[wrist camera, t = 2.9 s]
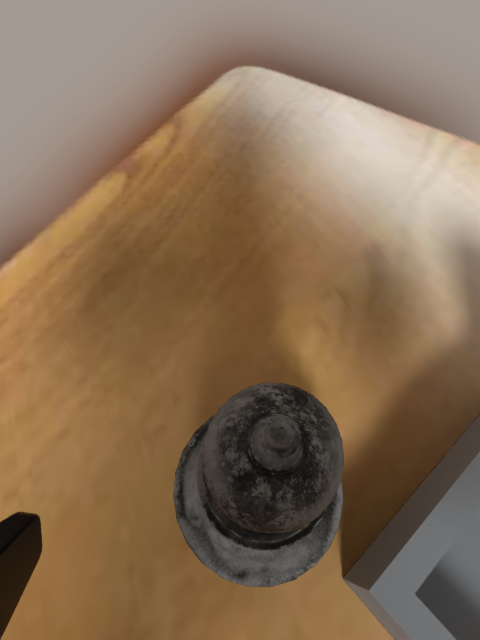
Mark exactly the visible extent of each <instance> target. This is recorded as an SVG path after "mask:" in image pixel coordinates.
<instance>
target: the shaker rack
mask: <svg viewBox="0 0 480 640" xmlns="http://www.w3.org/2000/svg"><path fill="white" fill-rule="evenodd" d="M343 580H344V581H345V582H346V583H347V584H348V586H349V587H350V588H351V589H352V590H353V591H354V593H355V594H356V595H357V596H358V597H359V598H360V600H361V601H362V602H363V603H364V604H365V605H366V607H367V608H368V609H369V610H370V611H371V613H372V614H373V615H374V616H375V617H376V618H377V620H378V621H379V622H380V623H381V624H382V625H383V627H384V628H385V629H386V630H387V631H388V632H389V634H390V635H391V636H392V637H393V638H394V639H395V640H480V414H479V415H478V416H477V418H476V419H475V420H474V421H473V422H472V424H471V425H470V426H469V427H468V428H467V430H466V431H465V432H464V433H463V434H462V436H461V437H460V438H459V439H458V440H457V442H456V443H455V444H454V445H453V446H452V448H451V449H450V450H449V451H448V452H447V454H446V455H445V456H444V457H443V458H442V460H441V461H440V462H439V463H438V464H437V466H436V467H435V468H434V469H433V470H432V472H431V473H430V474H429V475H428V476H427V478H426V479H425V480H424V481H423V482H422V484H421V485H420V486H419V487H418V488H417V490H416V491H415V492H414V493H413V494H412V496H411V497H410V498H409V499H408V500H407V502H406V503H405V504H404V505H403V506H402V508H401V509H400V510H399V511H398V513H397V514H396V515H395V516H394V517H393V519H392V520H391V521H390V522H389V523H388V525H387V526H386V527H385V528H384V529H383V531H382V532H381V533H380V534H379V535H378V537H377V538H376V539H375V540H374V541H373V543H372V544H371V545H370V546H369V547H368V549H367V550H366V551H365V552H364V553H363V555H362V556H361V557H360V558H359V559H358V561H357V562H356V563H355V564H354V565H353V567H352V568H351V569H350V570H349V571H348V573H347V574H346V575H345V576H344V577H343Z"/></svg>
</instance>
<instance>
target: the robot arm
mask: <svg viewBox="0 0 480 640" xmlns="http://www.w3.org/2000/svg"><path fill="white" fill-rule="evenodd" d="M41 552H42V534H41V522H40V517H39V516H38V515H37V514H34V513H27V512H17V513H15V514H13V515H11V516H9V517H8V518H6V519H5V520H3V521H1V522H0V639H1V637H2V635H3V633H4V631H5V629H6V627H7V625H8V623H9V621H10V619H11V617H12V615H13V613H14V610H15V608H16V606H17V604H18V602H19V600H20V598H21V596H22V594H23V592H24V590H25V588H26V585H27V583H28V581H29V579H30V577H31V575H32V573H33V571H34V569H35V567H36V565H37V562H38V560H39V558H40V555H41Z"/></svg>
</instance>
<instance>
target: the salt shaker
mask: <svg viewBox="0 0 480 640" xmlns="http://www.w3.org/2000/svg"><path fill="white" fill-rule="evenodd" d="M343 464H344V454H343V443H342V438H341V436H340V433H339V430H338V427H337V424H336V422H335V421H334V419H333V417H332V416H331V414H330V413H329V411H328V410H327V408H326V407H325V406H324V405H323V404H322V403H320V402H319V401H318V400H317V399H316V398H315V397H314V396H313V395H311V394H309V393H307V392H306V391H304V390H302V389H300V388H298V387H295V386H291V385H287V384H283V383H263V384H259V385H255V386H251V387H248V388H246V389H244V390H242V391H241V392H239V393H237V394H235V395H233V396H232V397H231V398H230V399H229V400H228V401H227V402H226V403H225V404H224V405H223V406H222V407H221V408H220V409H219V410H218V412H217V413H216V415H214V416H213V417H211V418H210V419H208V420H207V421H206V422H205V423H204V424H203V425H202V426H201V427H200V428H199V429H198V430H197V431H196V432H195V433H194V434H193V436H192V437H191V439H190V440H189V442H188V444H187V445H186V447H185V448H184V450H183V452H182V455H181V458H180V461H179V464H178V466H177V469H176V472H175V483H174V494H173V497H174V504H175V510H176V517H177V522H178V524H179V526H180V529H181V531H182V533H183V536H184V538H185V540H186V543H187V544H188V546H189V547H190V548H191V550H192V551H193V552H194V553H195V555H196V556H197V557H198V559H199V560H200V561H201V562H202V564H204V565H205V566H206V567H208V568H209V569H211V570H212V571H213V572H215V573H216V574H217V575H219V576H220V577H222V578H223V579H226V580H229V581H232V582H235V583H238V584H240V585H243V586H246V587H273V586H276V585H279V584H283V583H286V582H289V581H293V580H295V579H297V578H298V577H299V576H301V575H302V574H304V573H305V572H307V571H308V570H310V569H311V568H313V567H314V566H315V565H316V564H317V563H318V561H319V560H320V559H321V558H322V556H323V555H324V554H325V553H326V551H327V550H328V549H329V548H330V546H331V544H332V541H333V539H334V537H335V534H336V532H337V530H338V527H339V525H340V520H341V513H342V507H343V500H344V499H343V489H342V479H341V476H342V470H343Z"/></svg>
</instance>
